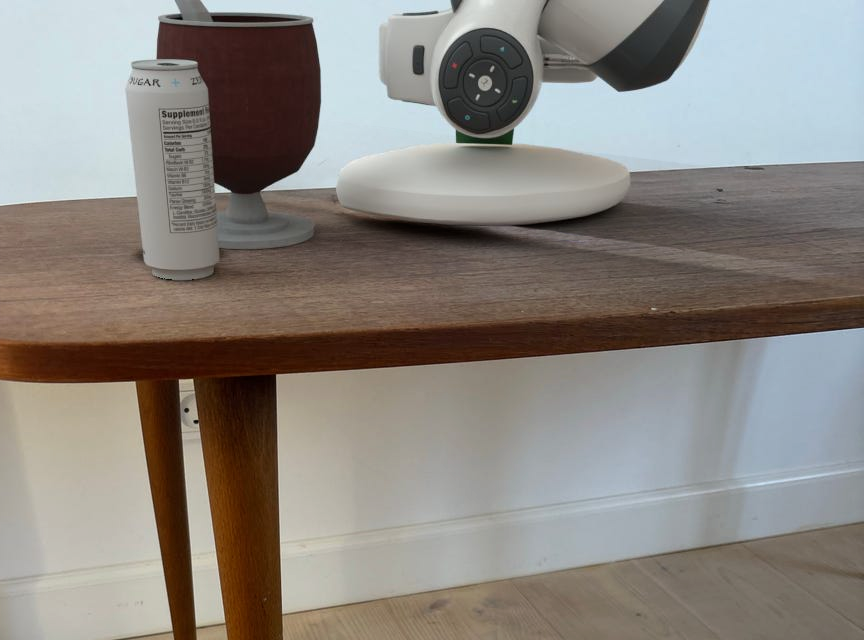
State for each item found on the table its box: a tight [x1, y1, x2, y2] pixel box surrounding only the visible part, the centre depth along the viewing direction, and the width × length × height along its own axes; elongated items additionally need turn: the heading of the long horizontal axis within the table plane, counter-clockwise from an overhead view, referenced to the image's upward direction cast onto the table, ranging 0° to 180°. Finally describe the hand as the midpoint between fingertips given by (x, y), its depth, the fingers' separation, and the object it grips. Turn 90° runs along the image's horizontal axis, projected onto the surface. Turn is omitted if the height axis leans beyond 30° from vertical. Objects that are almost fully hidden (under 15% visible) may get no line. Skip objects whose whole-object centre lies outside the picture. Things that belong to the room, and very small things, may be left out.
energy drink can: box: [124, 59, 221, 281], centre depth 81 cm, size 6×6×15 cm
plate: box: [335, 142, 631, 227], centre depth 103 cm, size 28×6×27 cm
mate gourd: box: [156, 0, 322, 250], centre depth 92 cm, size 16×14×20 cm
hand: (489, 45), depth 100 cm, fingers closed on dish wand, 3 cm apart
